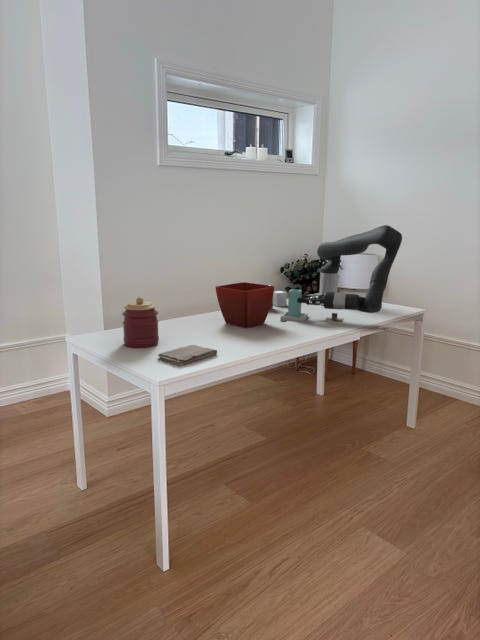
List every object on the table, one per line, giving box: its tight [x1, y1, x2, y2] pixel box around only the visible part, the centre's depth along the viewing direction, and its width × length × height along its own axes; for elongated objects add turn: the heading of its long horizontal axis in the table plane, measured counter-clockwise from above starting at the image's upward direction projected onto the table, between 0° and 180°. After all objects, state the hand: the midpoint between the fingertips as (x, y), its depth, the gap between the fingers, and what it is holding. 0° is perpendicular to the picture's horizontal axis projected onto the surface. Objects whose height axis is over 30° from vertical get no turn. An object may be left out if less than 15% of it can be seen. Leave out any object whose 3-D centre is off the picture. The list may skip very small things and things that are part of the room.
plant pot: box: [214, 281, 275, 328], centre depth 211 cm, size 19×19×17 cm
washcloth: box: [157, 344, 218, 367], centre depth 162 cm, size 12×18×3 cm, turn 141°
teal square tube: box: [287, 288, 303, 317], centre depth 220 cm, size 5×5×13 cm
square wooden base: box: [324, 312, 345, 323], centre depth 218 cm, size 8×8×4 cm
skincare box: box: [273, 290, 288, 308], centre depth 254 cm, size 6×6×7 cm
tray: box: [280, 311, 309, 323], centre depth 221 cm, size 11×11×2 cm
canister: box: [121, 296, 160, 349], centre depth 177 cm, size 13×13×18 cm
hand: (299, 298), depth 218 cm, fingers open, 8 cm apart
